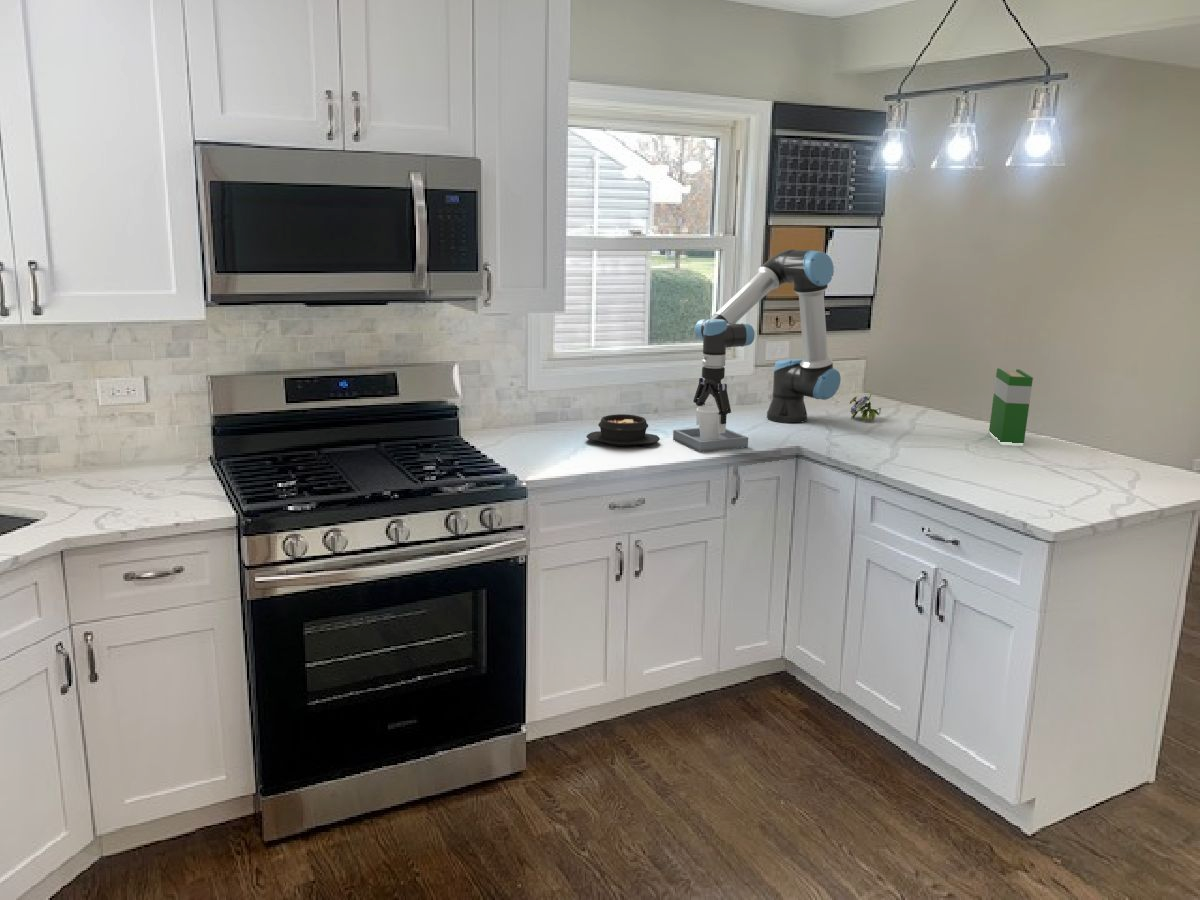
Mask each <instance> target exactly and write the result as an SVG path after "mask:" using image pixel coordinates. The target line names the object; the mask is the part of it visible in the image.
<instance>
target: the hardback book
mask: <svg viewBox="0 0 1200 900" xmlns="http://www.w3.org/2000/svg"><path fill="white" fill-rule="evenodd" d="M1033 381H1034V377H1032V376H1031V375H1029V374H1028V373H1026V372H1025V371H1022V369H1018V368H1016V371H1015V370H1003V369H1001V368H999V367H997V368H996V373H995V381H994V382H995V383H994V389H993V397H992V406H991V412H990V422H989V428H988V429H989V430H988V432H989V431H990V432H991V433H992V434H993V435H994V436H995V437H997V438H998V440H1000V442H1012V443H1024V444H1025V438H1026V431H1027V425H1028V416H1029V411H1030V410H1029V408H1030V403H1031V395H1032V394H1031V393H1032V388H1033Z"/></svg>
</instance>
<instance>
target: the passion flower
mask: <svg viewBox="0 0 1200 900" xmlns="http://www.w3.org/2000/svg"><path fill="white" fill-rule="evenodd" d="M871 397H872V394H870V393H869V394H868V396H867V395H865V396H863V397H861V398H858V396H856V395H855V396H854V397H853V398H852V399H851V400H850V402H849V405H850V404H853V405H852V406H851V407H850V414H851V417H853V419H854V418H855V417H856V416H857V414H858V412H860V414H861V419H862V420H861V421H862V422H863V421H867V418H868V421H869V422H871V421H872V420H875V418H876V415H877V416H880V414H881V412H882V411H881V410H882V407H878V408H876V409H875V408H872V407H871V406H872V403H871ZM857 398H858V399H857ZM878 410H879V412H878Z"/></svg>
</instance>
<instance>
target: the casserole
mask: <svg viewBox="0 0 1200 900" xmlns="http://www.w3.org/2000/svg"><path fill="white" fill-rule="evenodd" d="M597 424H598V427H599V428H600V431H599V430H598V431H591V432H590V433H588V434H586V438H587V439H588V440H590V441H595V442H602V443H604V444H607V445H611V446H614V445H615V446H614V447H634V446H637V445H649V444H650V445H651V444H654V443H657V442H659V441H660V440H661V438H660V437H659V436H658V435H657V434H652V433H647V429H648V427H649V424H648V423H647V420H646V418H645V417H643V416H640V415H635V414H627V413H626V414H622V413H621V414H620V413H618V414H608V415H606V416H603V417H601V419H600V422H598V423H597Z"/></svg>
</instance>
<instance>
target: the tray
mask: <svg viewBox="0 0 1200 900" xmlns="http://www.w3.org/2000/svg"><path fill="white" fill-rule="evenodd" d="M672 434H673V435H672V441H674V440H675V442H676V441H677V442H676V443H678V444H681V445H683V446H685V447H688V448H690V449H691V450H693V449H694V451H696V452H698V453H708V452H710V453H711V452H718V451H719V450H721V451H727V450H726V449H730V450H735V449H734V448H740V449H743V448H742V447H748V448H749V437H748V436H746V435H743V434H741V433H738V432H735V431H734V430H731V429H728V428H726V430H725V433H720V438H719V439H718V440H708V441H702V440H701V437H700V428H699V427H694V428H693V427H691V428H682V429H673V432H672ZM719 452H720V451H719Z"/></svg>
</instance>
